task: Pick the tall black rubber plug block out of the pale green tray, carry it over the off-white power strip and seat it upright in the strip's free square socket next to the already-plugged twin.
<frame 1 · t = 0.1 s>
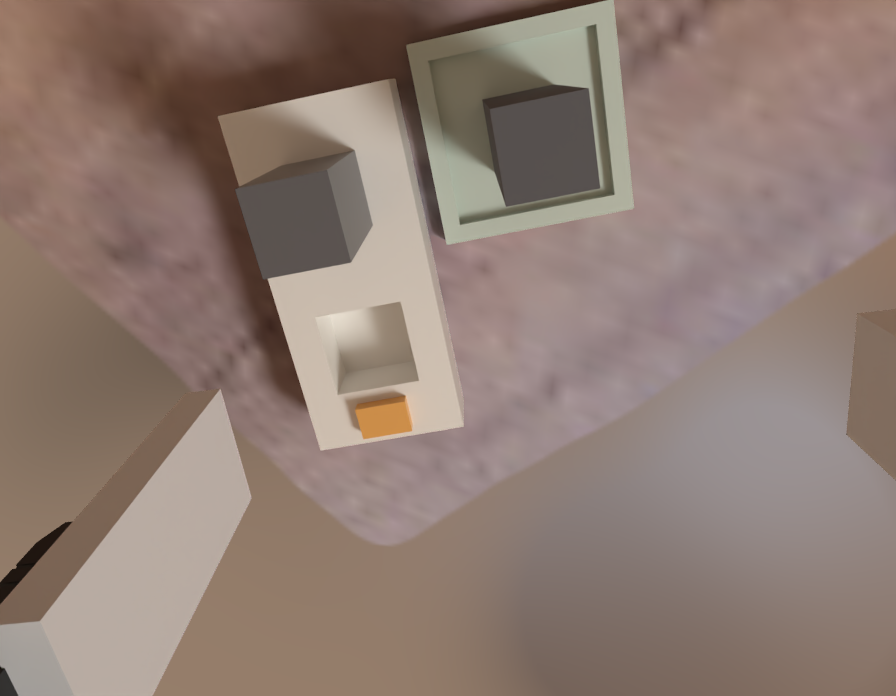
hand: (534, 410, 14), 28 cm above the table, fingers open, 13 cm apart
tray: (523, 128, 38), on the table
plug: (523, 129, 38), resting on tray
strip: (360, 265, 42), on the table
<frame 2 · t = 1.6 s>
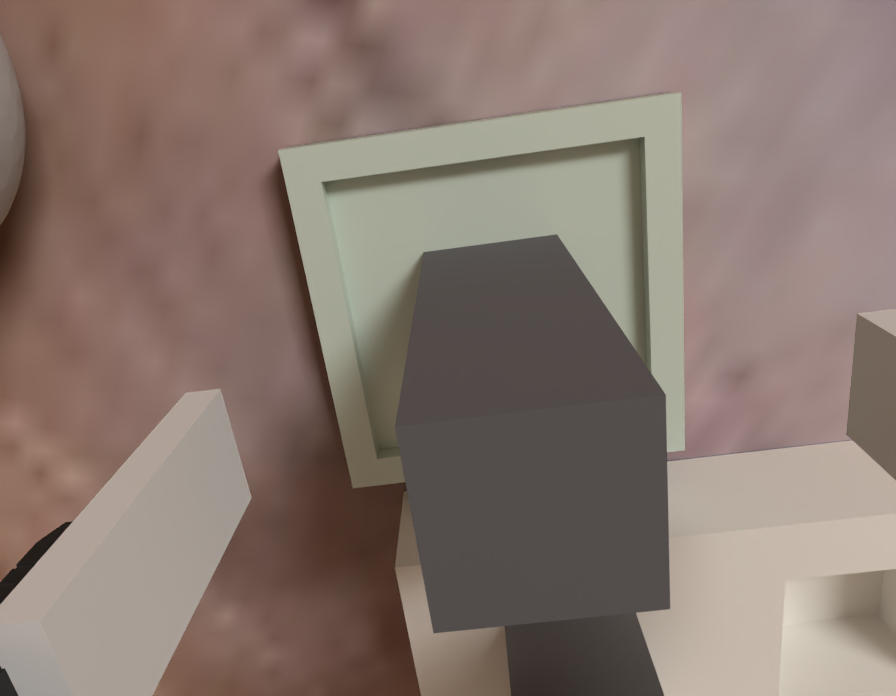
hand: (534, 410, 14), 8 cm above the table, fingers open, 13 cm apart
tray: (496, 302, 21), on the table
plug: (497, 306, 21), resting on tray
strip: (691, 564, 25), on the table
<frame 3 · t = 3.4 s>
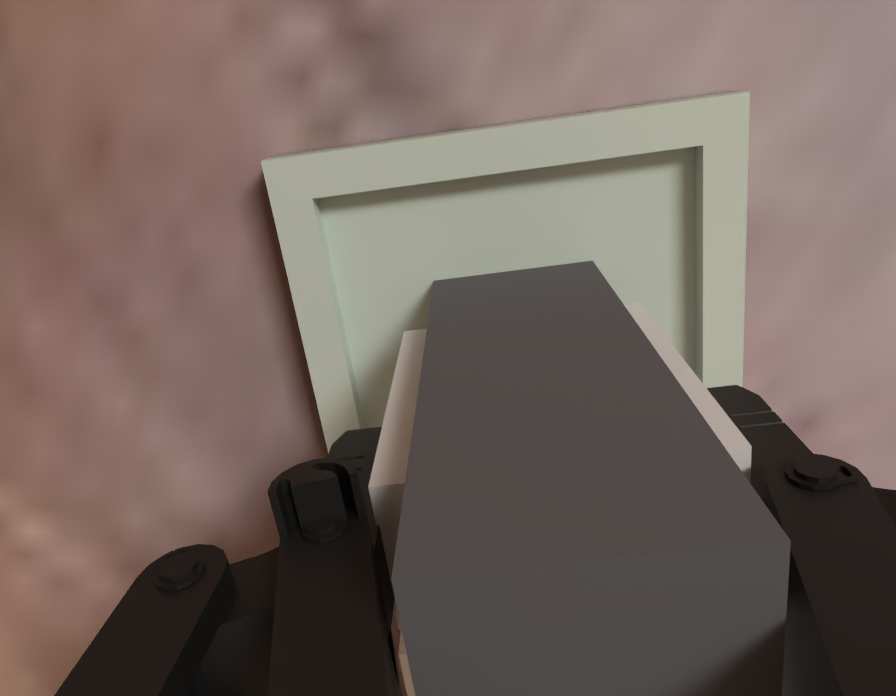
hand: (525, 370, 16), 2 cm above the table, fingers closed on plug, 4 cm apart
tray: (519, 338, 18), on the table
plug: (520, 344, 18), resting on tray, touching gripper
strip: (739, 634, 22), on the table
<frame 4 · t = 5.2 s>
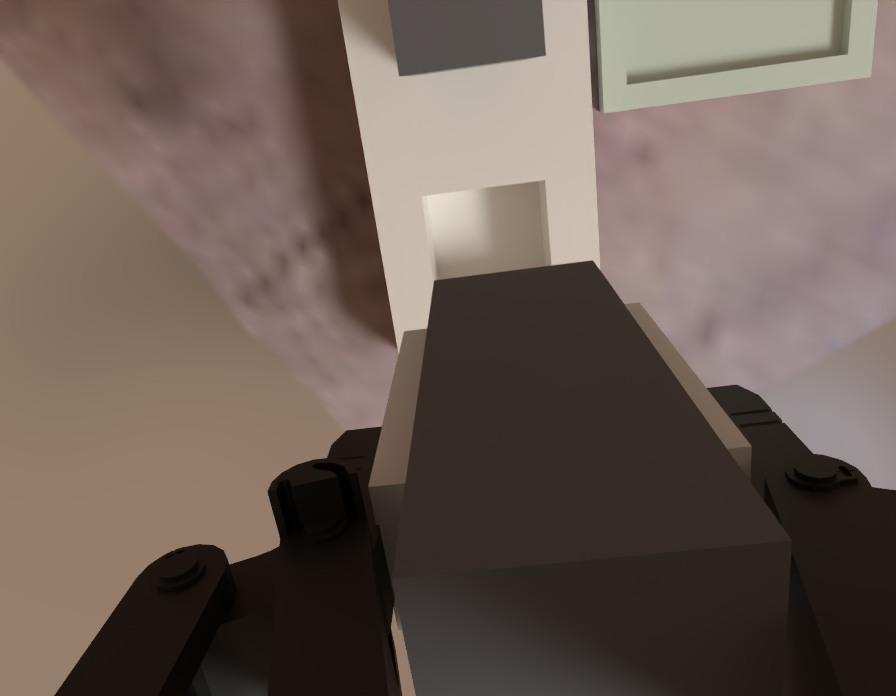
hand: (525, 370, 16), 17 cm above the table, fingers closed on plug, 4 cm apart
plug: (520, 343, 18), point 15 cm above the table, touching gripper
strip: (476, 140, 30), on the table
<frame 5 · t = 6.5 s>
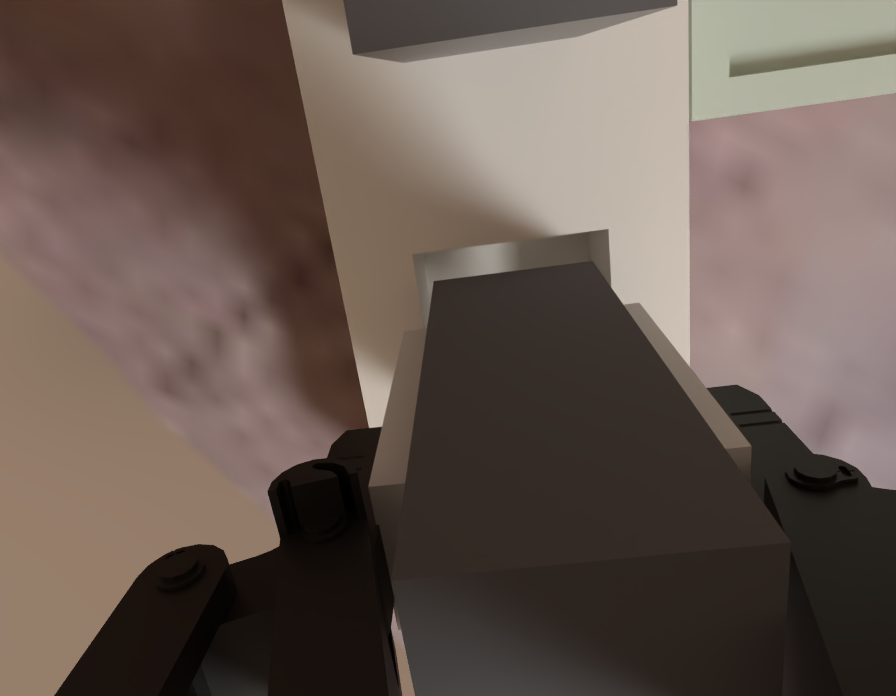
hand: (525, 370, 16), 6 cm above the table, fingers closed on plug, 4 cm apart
plug: (520, 344, 18), point 4 cm above the table, touching gripper
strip: (495, 162, 20), on the table
when the fingers open (4 cm above the table, at t = 7.4 s): plug drops 2 cm, resting on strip.
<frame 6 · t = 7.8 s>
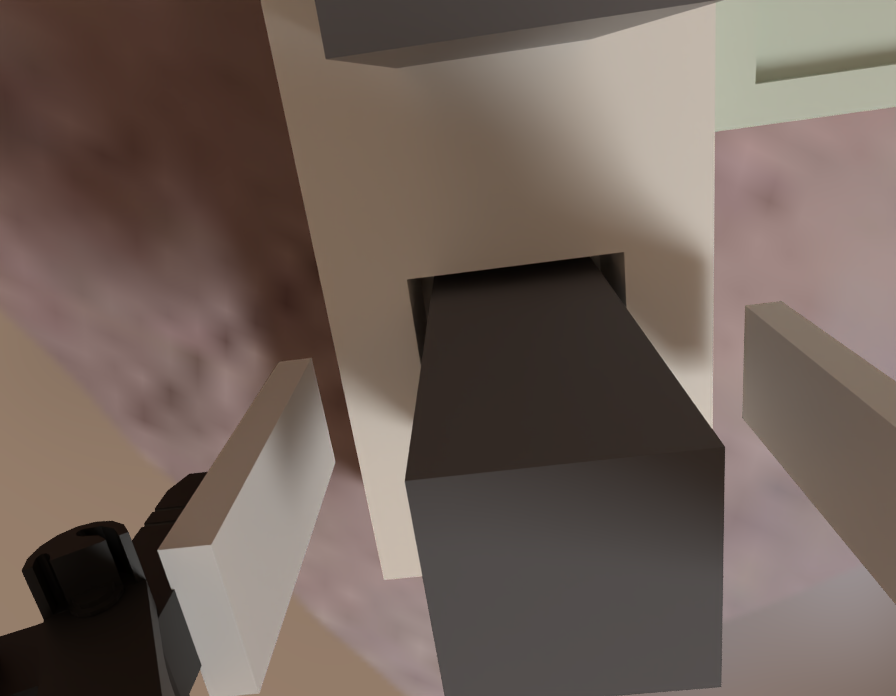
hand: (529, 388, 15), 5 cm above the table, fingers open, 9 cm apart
plug: (514, 320, 19), point 1 cm above the table, touching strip
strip: (498, 175, 19), on the table
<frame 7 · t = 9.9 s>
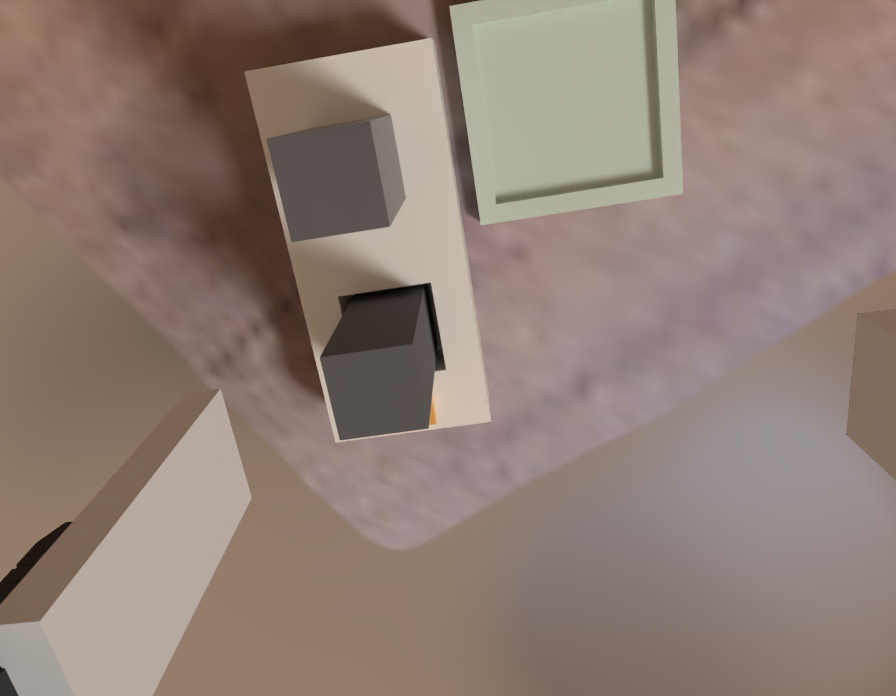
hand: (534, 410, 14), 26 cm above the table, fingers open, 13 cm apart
tray: (568, 103, 36), on the table
plug: (398, 315, 40), point 1 cm above the table, touching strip
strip: (386, 245, 39), on the table
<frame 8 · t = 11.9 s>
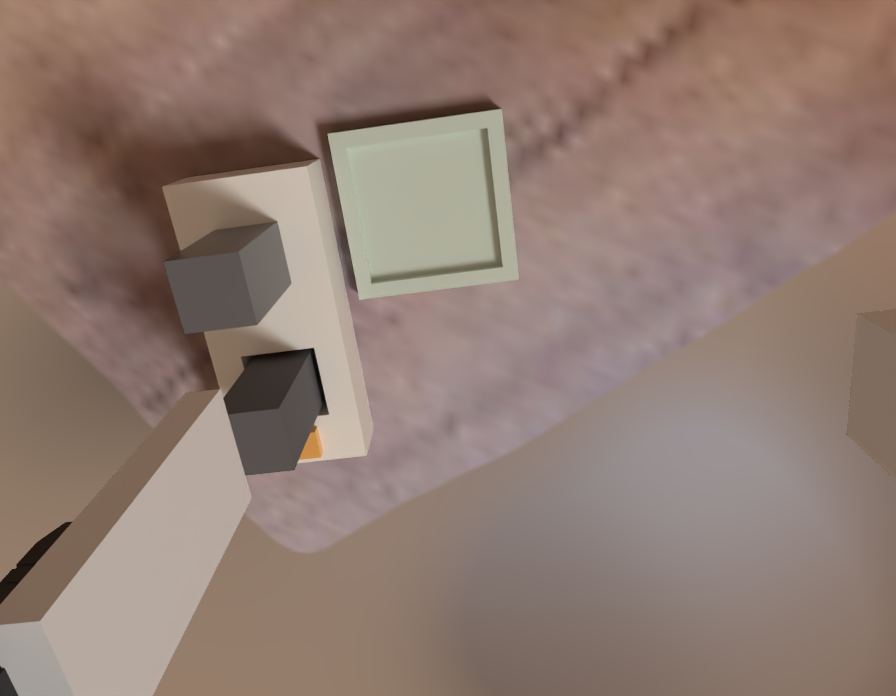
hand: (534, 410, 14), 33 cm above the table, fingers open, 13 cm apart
tray: (427, 206, 45), on the table
plug: (296, 367, 49), point 1 cm above the table, touching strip
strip: (286, 311, 48), on the table
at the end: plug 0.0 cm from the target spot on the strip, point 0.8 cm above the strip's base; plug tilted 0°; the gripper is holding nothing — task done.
